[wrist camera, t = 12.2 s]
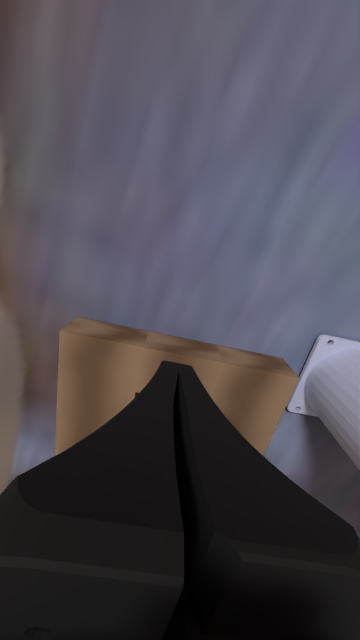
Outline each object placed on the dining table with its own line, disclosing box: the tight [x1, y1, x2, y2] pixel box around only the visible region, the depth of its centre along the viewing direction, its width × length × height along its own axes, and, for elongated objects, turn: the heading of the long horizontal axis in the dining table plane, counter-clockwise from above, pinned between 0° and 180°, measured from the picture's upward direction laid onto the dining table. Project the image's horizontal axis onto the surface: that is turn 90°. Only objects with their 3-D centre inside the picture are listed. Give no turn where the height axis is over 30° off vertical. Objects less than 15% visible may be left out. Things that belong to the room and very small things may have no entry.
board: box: [55, 317, 299, 456], centre depth 20 cm, size 18×14×3 cm
